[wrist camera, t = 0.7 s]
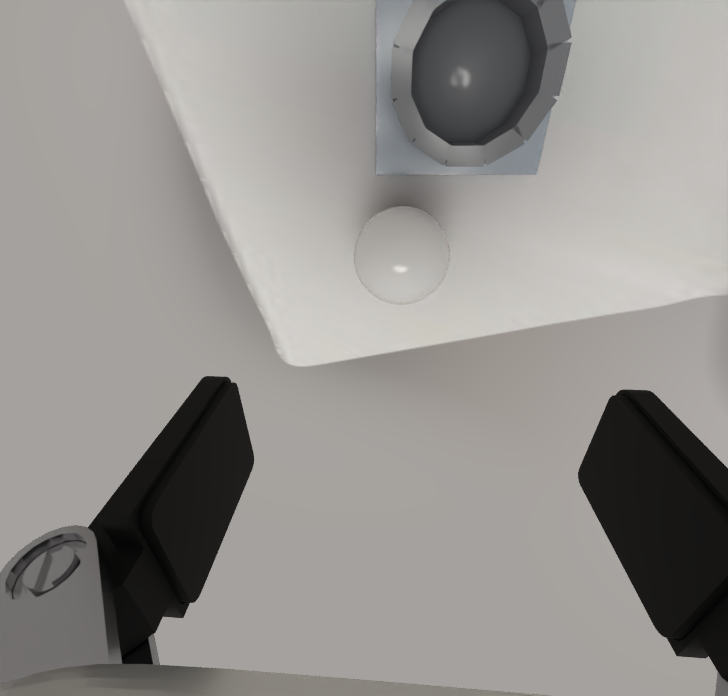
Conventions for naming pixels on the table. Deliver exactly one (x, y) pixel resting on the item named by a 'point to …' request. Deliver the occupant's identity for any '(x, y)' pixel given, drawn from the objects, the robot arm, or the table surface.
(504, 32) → the socket
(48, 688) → the robot arm
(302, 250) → the table surface
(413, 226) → the lightbulb
